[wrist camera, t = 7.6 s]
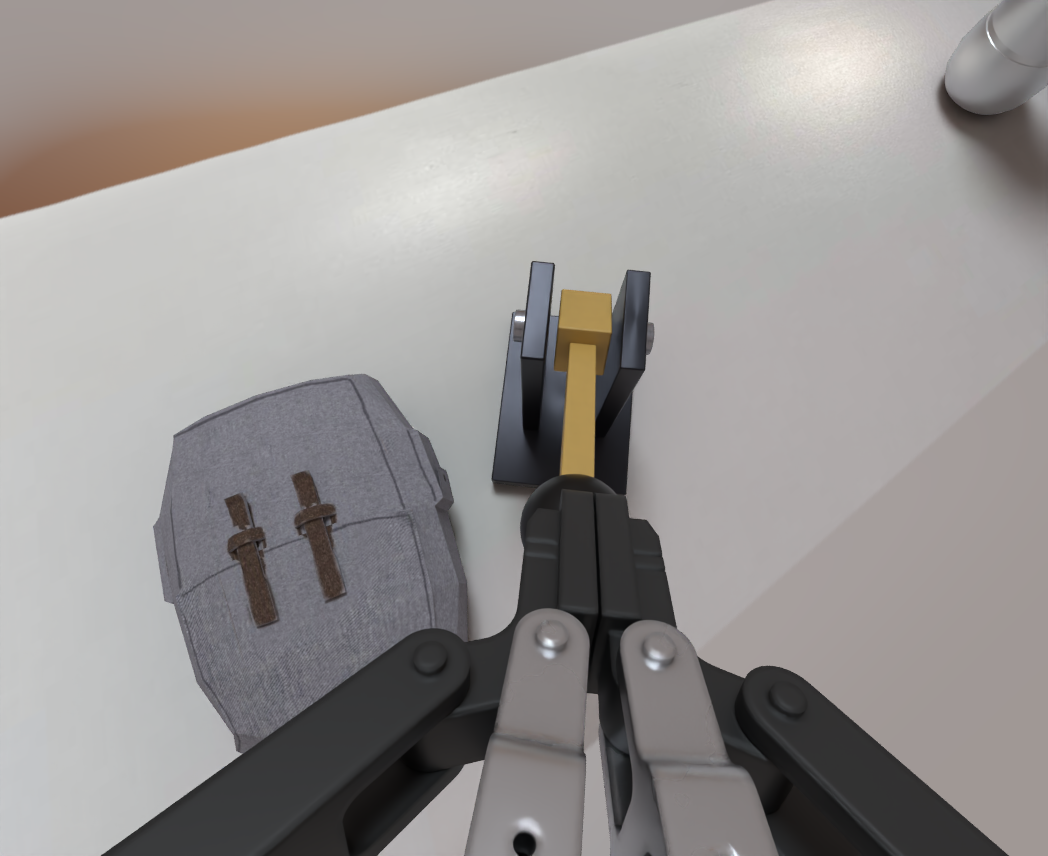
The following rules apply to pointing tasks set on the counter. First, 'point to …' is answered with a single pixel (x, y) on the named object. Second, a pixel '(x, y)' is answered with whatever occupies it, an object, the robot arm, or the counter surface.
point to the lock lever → (577, 396)
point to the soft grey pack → (304, 546)
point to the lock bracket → (540, 391)
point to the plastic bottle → (1001, 58)
